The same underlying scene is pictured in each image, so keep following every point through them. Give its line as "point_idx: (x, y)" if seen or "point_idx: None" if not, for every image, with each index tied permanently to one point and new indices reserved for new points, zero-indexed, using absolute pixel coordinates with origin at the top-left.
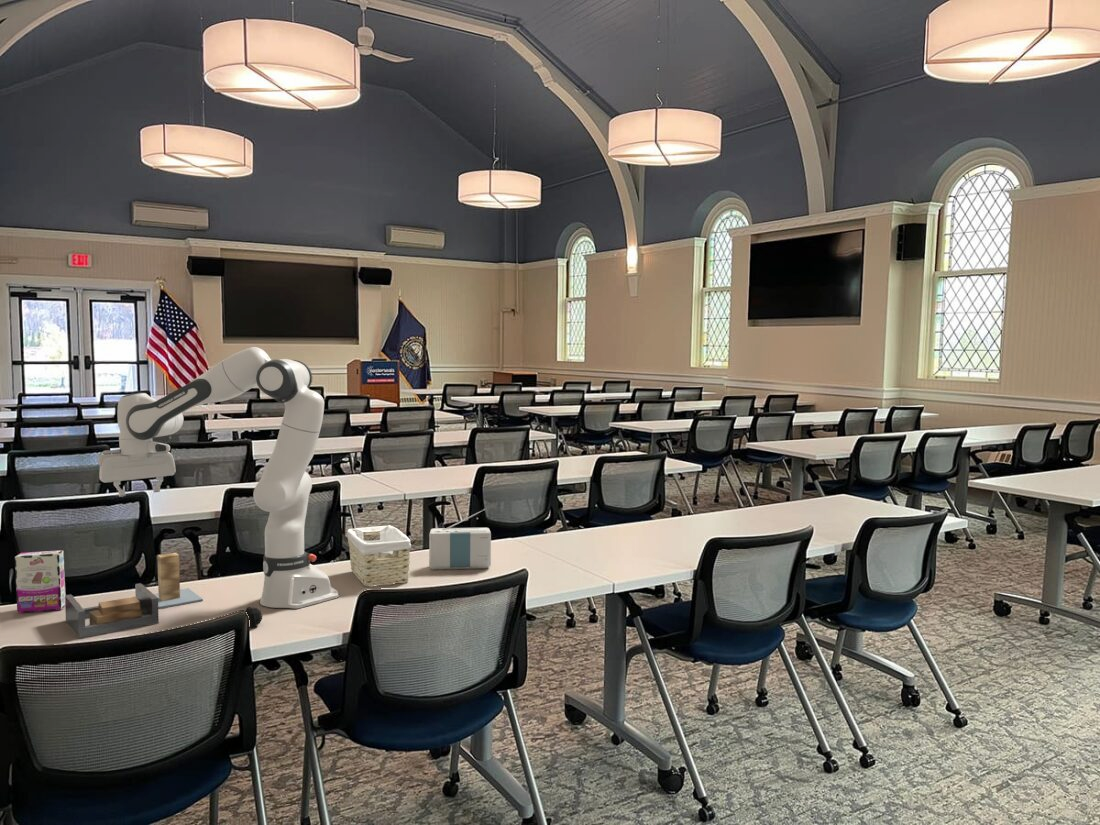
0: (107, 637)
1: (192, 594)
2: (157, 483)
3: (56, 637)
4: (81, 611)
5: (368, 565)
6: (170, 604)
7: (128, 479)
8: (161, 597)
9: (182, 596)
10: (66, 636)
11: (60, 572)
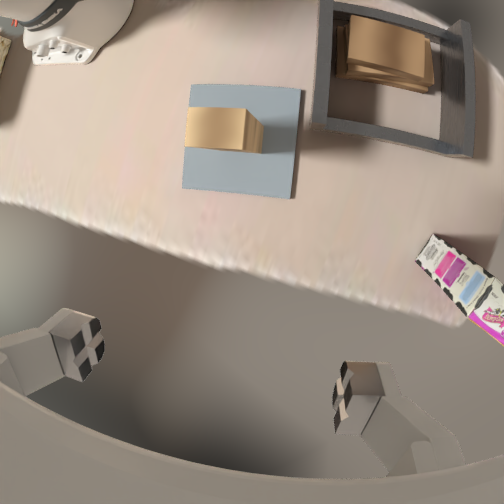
0: (410, 8)
1: None
2: (41, 374)
3: None
4: (464, 21)
5: None
6: (259, 88)
7: (334, 481)
8: (262, 128)
9: None
10: None
11: (465, 262)
